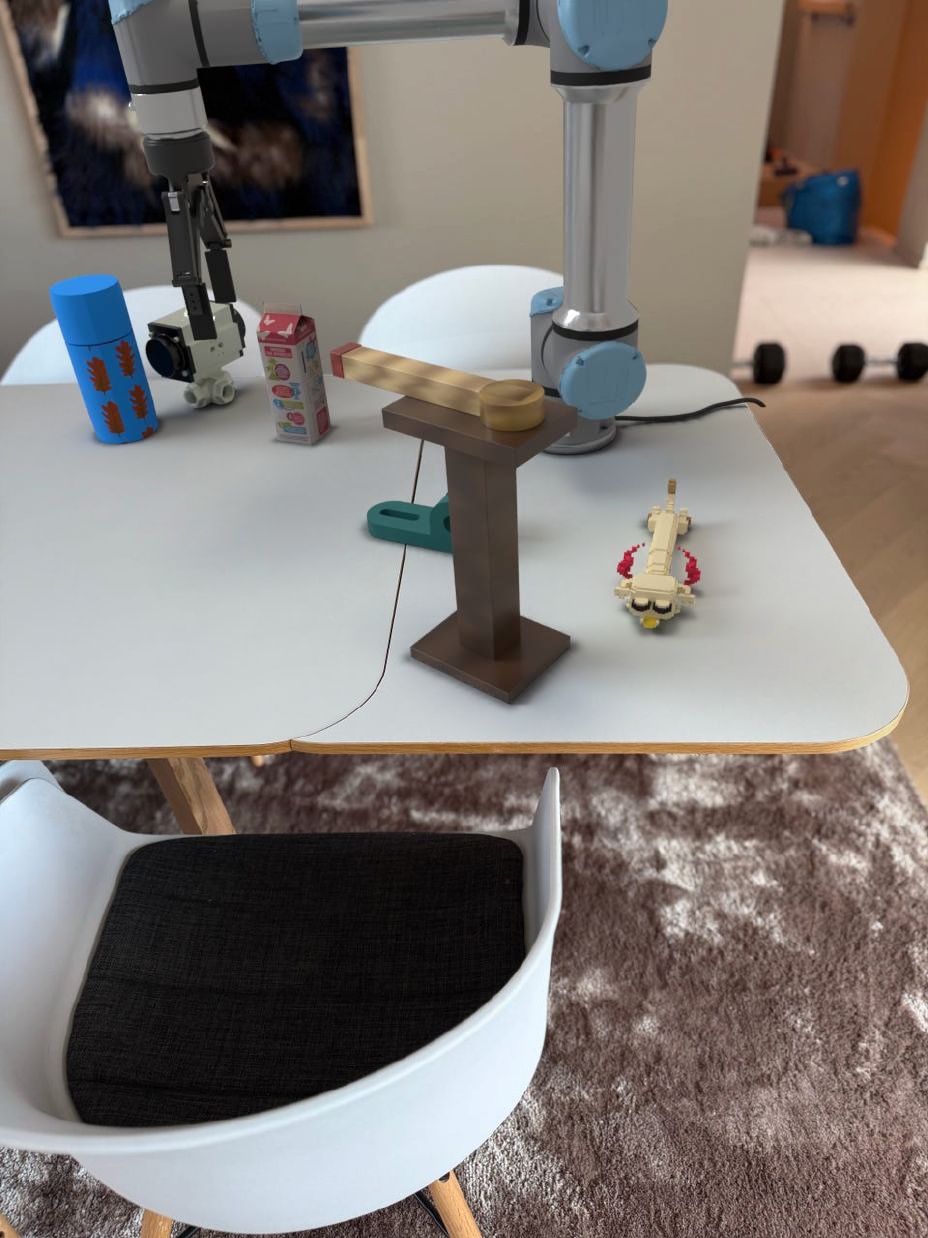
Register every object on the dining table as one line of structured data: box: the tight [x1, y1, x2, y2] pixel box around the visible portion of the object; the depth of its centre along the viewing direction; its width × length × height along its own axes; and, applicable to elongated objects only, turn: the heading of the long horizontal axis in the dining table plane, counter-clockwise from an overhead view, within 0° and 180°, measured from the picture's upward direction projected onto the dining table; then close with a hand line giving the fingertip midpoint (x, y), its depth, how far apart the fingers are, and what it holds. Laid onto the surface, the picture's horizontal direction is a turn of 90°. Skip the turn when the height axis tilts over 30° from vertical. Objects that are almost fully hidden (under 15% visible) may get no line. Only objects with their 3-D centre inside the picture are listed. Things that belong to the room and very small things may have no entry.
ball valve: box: [144, 299, 247, 409], centre depth 162 cm, size 18×8×18 cm, turn 149°
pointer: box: [329, 341, 545, 432], centre depth 89 cm, size 25×6×3 cm, turn 51°
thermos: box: [48, 274, 159, 445], centre depth 152 cm, size 11×11×25 cm
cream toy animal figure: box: [613, 477, 702, 629], centre depth 112 cm, size 10×9×25 cm
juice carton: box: [255, 301, 332, 446], centre depth 147 cm, size 7×7×22 cm
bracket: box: [366, 491, 453, 555], centre depth 124 cm, size 18×7×8 cm, turn 65°
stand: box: [380, 395, 578, 705], centre depth 96 cm, size 16×12×30 cm
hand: (216, 319), depth 116 cm, fingers open, 13 cm apart
